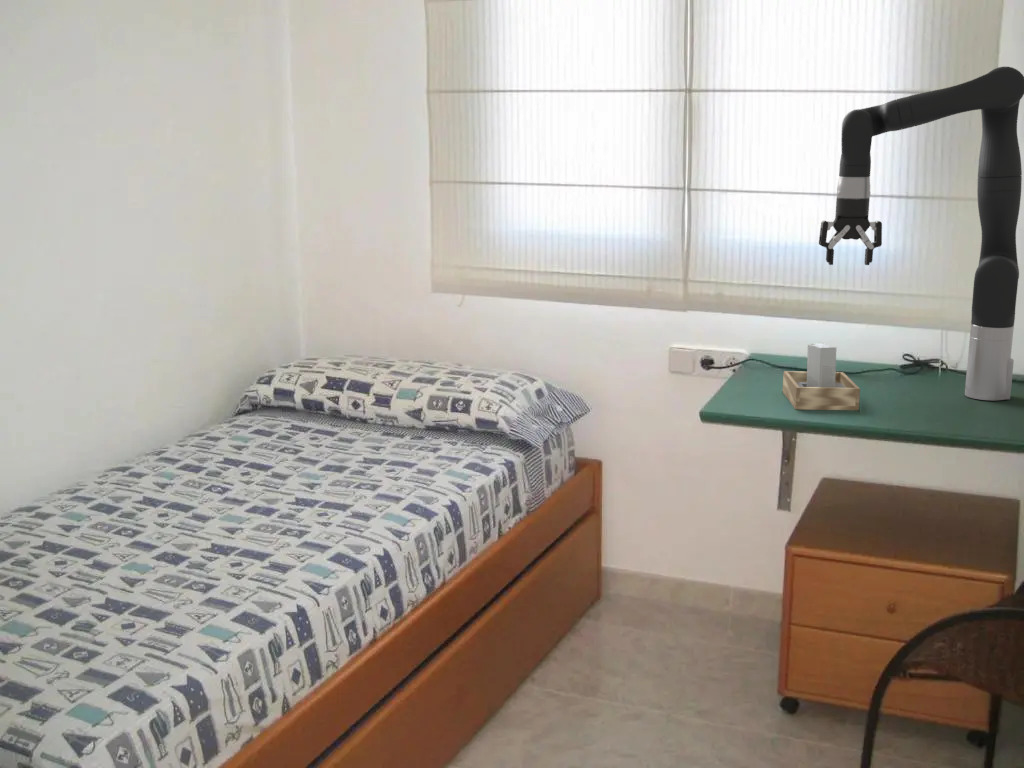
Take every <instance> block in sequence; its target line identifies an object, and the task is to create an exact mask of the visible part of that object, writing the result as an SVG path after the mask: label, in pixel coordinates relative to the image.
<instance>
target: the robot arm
mask: <svg viewBox="0 0 1024 768" xmlns="http://www.w3.org/2000/svg"><path fill="white" fill-rule="evenodd" d="M1023 96H1024V75H1023V74H1022V72H1021V71H1019V70H1018V69H1017V68H1014V67H1011V66H1000V67H996V68H994V69H992V70H991V71H989V72H988V73H986V74H983V75H981V76H978V77H976V78H974V79H971V80H968V81H966V82H962V83H958V84H957V85H952V86H949V87H944V88H940V89H935V90H931V91H930V90H929V91H926V92H921V93H917V94H916V93H915V94H911V95H909V96H903V97H900V98H897V99H893V100H889V101H888V102H885V103H884V104H883V103H882V104H879V105H874V106H870V107H865V108H860V109H859V108H858V109H853V110H851V111H848V113H846V115H844V117H843V119H842V122H841V155H840V158H839V159H840V160H839V168H838V169H839V170H838V171H839V172H838V173H839V174H838V179H837V180H838V182H837V188H836V200H835V201H836V202H835V216H834V217H835V218H834V219H833V221H827V220H822V221H821V223H820V230H819V237H818V245H820V246H821V247H823V248H825V250H826V251H825V252H826V255H825V261H826V262H827V263H828V265H829V266H833V265H834V257H835V255H834V254H835V249H834V247H836V245H837V244H838V243H839V242H840V241H841V240H851V239H852V240H855V241H856V240H859V239H860V240H861V241H862V243H863V244H864V246H865V247H866V248H865V250H864V265H865V266H870V264H872V262H873V255H874V250H875V249H876V248H879V247H881V246H882V244H883V243H882V241H883V237H882V236H883V235H882V234H883V223H882V221H880V220H875V221H870V220H869V213H870V212H869V211H870V201H871V200H870V197H871V170H872V169H871V168H872V166H871V163H872V160H871V159H872V157H871V156H872V155H871V149H872V139H873V137H876V136H878V135H879V136H880V135H883V134H885V133H889V132H897V131H901V130H906V129H910V128H913V127H917V126H920V125H924V124H925V125H926V124H928V123H931V122H934V121H937V120H941V119H944V118H946V117H950V116H954V115H957V114H961V113H965V112H966V113H967V112H971V111H977V110H980V111H981V129H982V130H981V134H982V135H981V141H980V147H979V148H980V149H979V157H978V165H977V166H978V168H977V169H978V170H977V209H978V214H979V215H978V216H979V222H980V229H981V243H980V253H979V262H978V266H977V268H976V270H975V273H974V280H973V288H972V289H973V290H972V303H971V321H970V329H969V330H970V331H969V341H968V342H969V343H968V344H969V345H968V351H967V352H968V353H967V354H968V355H967V364H966V365H967V366H966V375H965V376H966V377H965V385H964V396H966V397H967V398H971V399H975V400H981V401H1005V400H1011V391H1012V381H1013V373H1014V372H1013V371H1014V364H1015V363H1014V359H1013V358H1012V347H1013V338H1014V329H1015V328H1014V327H1015V321H1016V320H1015V319H1016V307H1017V306H1016V305H1017V294H1018V287H1019V278H1020V268H1019V264H1018V255H1017V254H1018V253H1017V228H1018V227H1017V226H1018V222H1019V221H1018V220H1019V215H1020V207H1021V196H1022V180H1023V179H1022V173H1023V171H1022V160H1021V159H1022V158H1021V150H1020V144H1019V139H1018V120H1019V119H1018V117H1019V106H1020V101H1021V99H1022V98H1023ZM832 227H833V229H834V230H835V233H834V234H833V236H832V237H831V239H830V240H829V241H828V242H827V237H828V231H830V230H831V228H832ZM869 228H871V231H873V232H874V233H873V241H871V240H870V238H869V236H868V235H867V233H866V232H867V231H868V229H869Z"/></svg>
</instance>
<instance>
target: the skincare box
mask: <svg viewBox="0 0 1024 768" xmlns="http://www.w3.org/2000/svg"><path fill="white" fill-rule="evenodd" d="M806 360H807V363H806V365H807V366H806V372H807V387H833V388H835V375H836V372H837V370H836V368H837V347H836V346H832V345H830V344H827V343H824V342H821V343H820V342H818V343H809V344H807V359H806Z"/></svg>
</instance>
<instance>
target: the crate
mask: <svg viewBox="0 0 1024 768" xmlns="http://www.w3.org/2000/svg"><path fill="white" fill-rule="evenodd" d="M782 393H783V395H784V396H785V397H786V398H787V400H788V401H789V403H790V404H791V405H792V407H793V408H794V410H816V411H817V410H820V411H860V410H859V408H860V393H861V388H860V387H859V386H858V385H857V384H856V383H855V382H854V381H853V380H852V379H851V378H850V377H849V376H848V375H846V373H845V372H843V371H842V372H841V371H836V375H835V388H833V387H807V371H799V370H797V371H796V370H795V371H790V370H787V371H786V370H784V371H783V377H782Z"/></svg>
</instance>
